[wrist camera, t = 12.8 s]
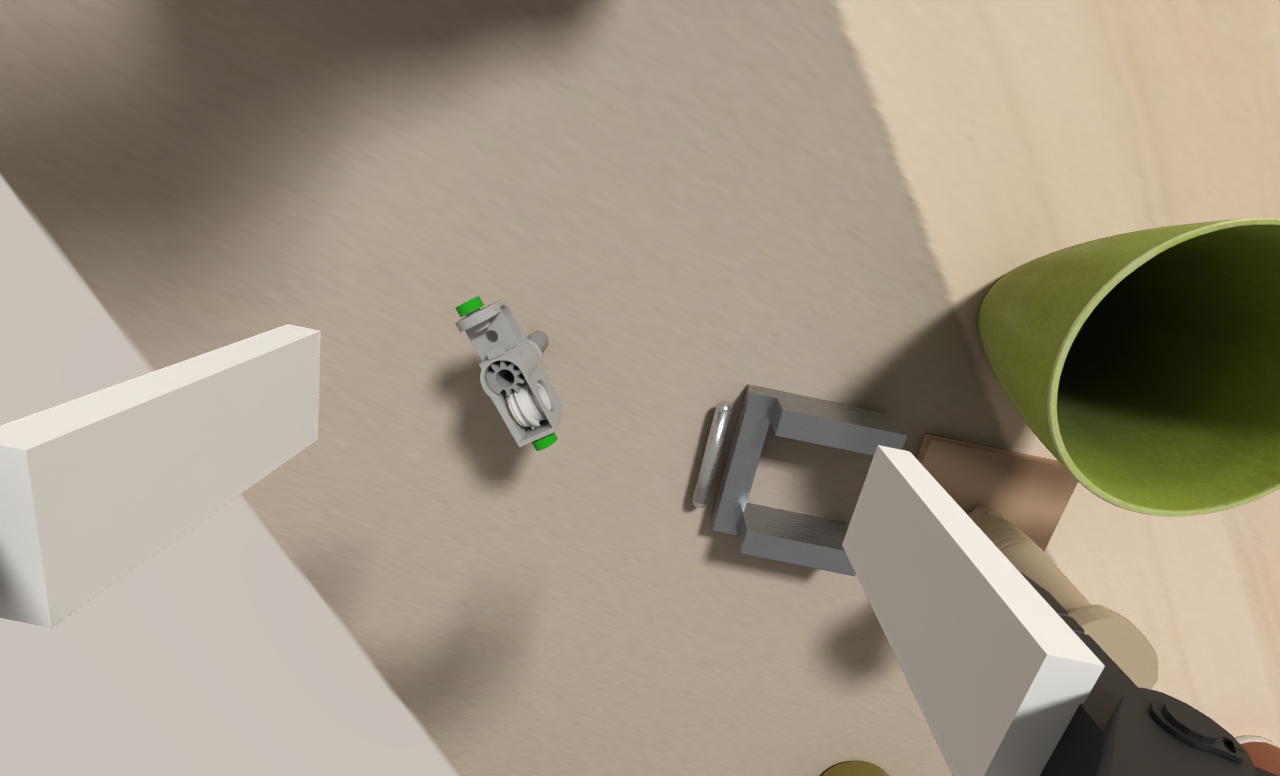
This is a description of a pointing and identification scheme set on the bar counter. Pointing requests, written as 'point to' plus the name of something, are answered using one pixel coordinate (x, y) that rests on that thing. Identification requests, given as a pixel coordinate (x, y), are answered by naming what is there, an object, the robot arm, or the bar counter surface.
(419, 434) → the bar counter surface
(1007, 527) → the handle
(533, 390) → the mechanical component
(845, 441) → the vise
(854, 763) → the olive glossy bulbous piece
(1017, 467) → the walnut board
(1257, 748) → the coffee cup
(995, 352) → the flower pot
